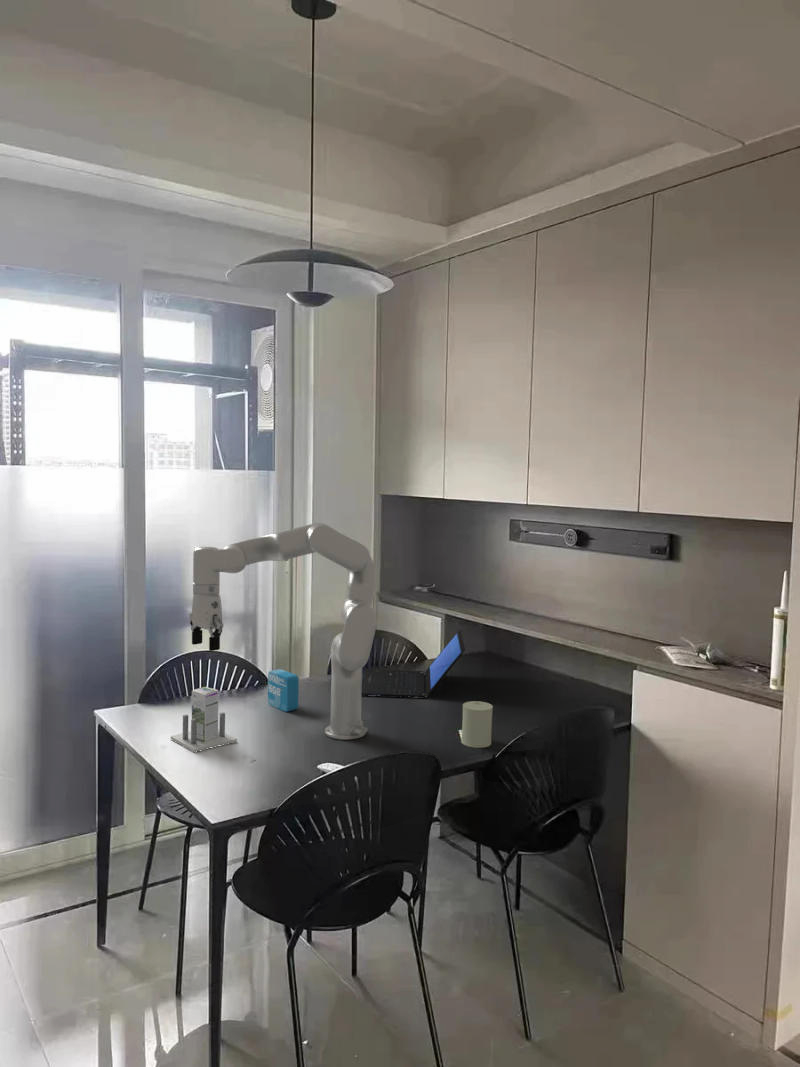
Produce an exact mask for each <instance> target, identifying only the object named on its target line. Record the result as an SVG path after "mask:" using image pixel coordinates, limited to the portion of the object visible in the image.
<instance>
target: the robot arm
mask: <svg viewBox="0 0 800 1067" xmlns="http://www.w3.org/2000/svg"><path fill="white" fill-rule="evenodd" d="M315 553H317V554H318V555H321V556H322V557H324V558H325V559H327V560H329V561H331V562H333V563H335V564H337V565H338V566H340V567H342V568H344V569H346V570H347V574H348V579H347V585H346V590H345V594H344V599H343V604H342V607H341V610H340V620H341V622H342V623H343V625H344V626H343V631H342V632H340V633H338V634H337V635H336V636H335V637H333V640H332V642H331V647H330V661H331V662H330V663H331V678H330V679H331V680H330V713H329V714H330V716H329V718H330V719H329V725H328V726H326V727H325V728H324V734H325V735H326V737H328V738H331V739H336V740H343V741H345V740H346V741H347V740H355V739H359V738H362V737H364V736H366V733H367V732H368V728H367V727H365V726H364V721H363V720H362V700H363V699H362V697H363V696H362V681H363V668H364V666H365V665H366V664H367V663H368V661H369V658H370V655H371V651H372V646H373V643H374V642H373V641H374V638H375V634H376V628H377V621H378V618H377V614H376V611H375V609H374V608H373V601H374V595H375V590H376V585H377V584H376V583H377V571H376V570H377V569H376V566H375V564H374V560H373V558H372V556H371V554H370V551H369V549H368V547H366V546H365V545H364V544H363V543H361V542H359V541H357V540H355V539H352V538H351V537H348V536H347V535H345V534H343V533H342V532H340V531H338V530H336V529H334V528H332V527H331V526H330V525H328V524H325V523H322V522H316V523H315V522H314V523H310V524H307V525H303V526H300V527H296V528H292V529H288V530H284V531H280V532H275V533H271V534H267V535H263V536H260V537H254V538H251V539H247V540H242V541H239V542H235V543H231V544H228V545H226V546H225V547H224V548H223V549H222V548H221V549H220V548H218V547H213V546H199V547H195V549H194V550H193V553H192V555H193V557H192V561H193V562H192V568H193V569H192V573H193V575H192V602H191V613H189V615H188V618H189V624H190V626H191V627H190V630H191V644H192V645H193V646H194V645H200V644H203V630H202V629H204V630H206V631H208V633H209V635H210V636H209V637H208V638H209V639H208V650H209V651H210V652H213V651H219V650H220V649H221V637H222V633H223V629H224V623H223V610H222V609H223V608H222V600H221V595H220V573H226V574H238V573H241V572H242V571H243V570H244V569H246V567H247V566H249V565H252V564H257V563H262V562H267V561H268V562H282V561H283V562H285V561H288V560H291V559H292V560H293V559H294V558H298V557H302V556H305V555H311V554H315Z"/></svg>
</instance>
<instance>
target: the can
mask: <svg viewBox="0 0 800 1067" xmlns="http://www.w3.org/2000/svg"><path fill="white" fill-rule="evenodd" d="M493 708H494V706H493V704H490V703H489V702H486V701H485V702H484V701H479V700H478V701H477V700H476V701H475V700H473V701H466V702H464V703H463V704H462V725H461V726H462V727H461V740H460V743H461V744H462V745H464V746H465V747H469V748H475V749H479V748H480V749H482V748H487V747H490V746H491V745H492V724H493V723H492V722H493Z"/></svg>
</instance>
